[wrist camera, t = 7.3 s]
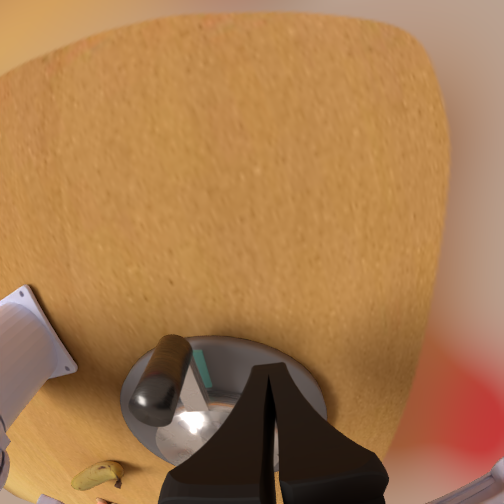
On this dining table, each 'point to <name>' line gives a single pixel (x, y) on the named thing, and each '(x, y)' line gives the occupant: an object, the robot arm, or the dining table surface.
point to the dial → (180, 401)
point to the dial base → (221, 377)
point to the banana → (98, 475)
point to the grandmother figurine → (102, 501)
